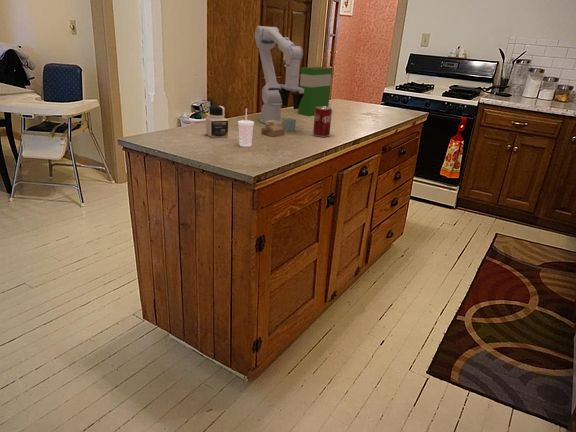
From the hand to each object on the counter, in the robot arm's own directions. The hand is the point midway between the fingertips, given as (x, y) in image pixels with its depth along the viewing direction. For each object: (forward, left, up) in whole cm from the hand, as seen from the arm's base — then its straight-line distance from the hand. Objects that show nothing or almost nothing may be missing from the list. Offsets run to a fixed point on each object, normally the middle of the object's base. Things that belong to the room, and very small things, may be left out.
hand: (290, 107), depth 194 cm
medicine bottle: (-4, -35, -10) cm, 37 cm away
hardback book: (-28, +40, -10) cm, 50 cm away
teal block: (0, 0, -10) cm, 10 cm away
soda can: (+14, +7, -10) cm, 19 cm away
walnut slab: (+4, -12, -10) cm, 16 cm away
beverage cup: (+14, -33, -10) cm, 37 cm away
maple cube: (+4, -12, -8) cm, 15 cm away
